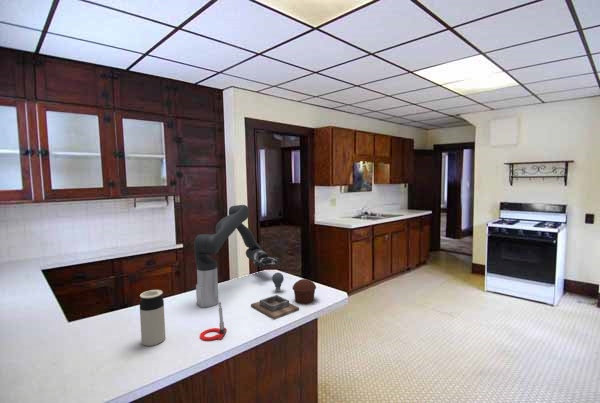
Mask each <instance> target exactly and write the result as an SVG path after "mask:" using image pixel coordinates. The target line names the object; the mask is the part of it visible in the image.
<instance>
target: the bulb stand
mask: <svg viewBox="0 0 600 403" xmlns="http://www.w3.org/2000/svg"><path fill="white" fill-rule="evenodd" d="M250 307H251V309H252V308H253V310H256V311H258V312H260V313H261V314H263V315H265V316H266V317H268V318H270V319H272V320H276V319H279V318H281V317H285V316H287V315H290V314H292V313H296V312H297V311H299V310H300V307H299V306H296V305H295V304H293V303H290V300H289V299H287V298H285V297H282V296H279V295H277V294H275V295H272V296H269V297H266V298H263V299H262V298H261V299H260V300H259V301H257V302H256V301H255V302H253V303H250Z"/></svg>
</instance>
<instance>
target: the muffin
mask: <svg viewBox="0 0 600 403" xmlns="http://www.w3.org/2000/svg"><path fill="white" fill-rule="evenodd" d="M291 288H292V290H293V293H294V299H295V303H298V304H300V305H301V304H302V305H307V304H311V303H313V302H314V298H315V292H316V289H317V286H316V284H315V282H314V281H312V280H310V279H307V278H303V279H302V278H301V279H299V280H297V281H296V282H295V283H294V284H293V285H292V287H291Z"/></svg>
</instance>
